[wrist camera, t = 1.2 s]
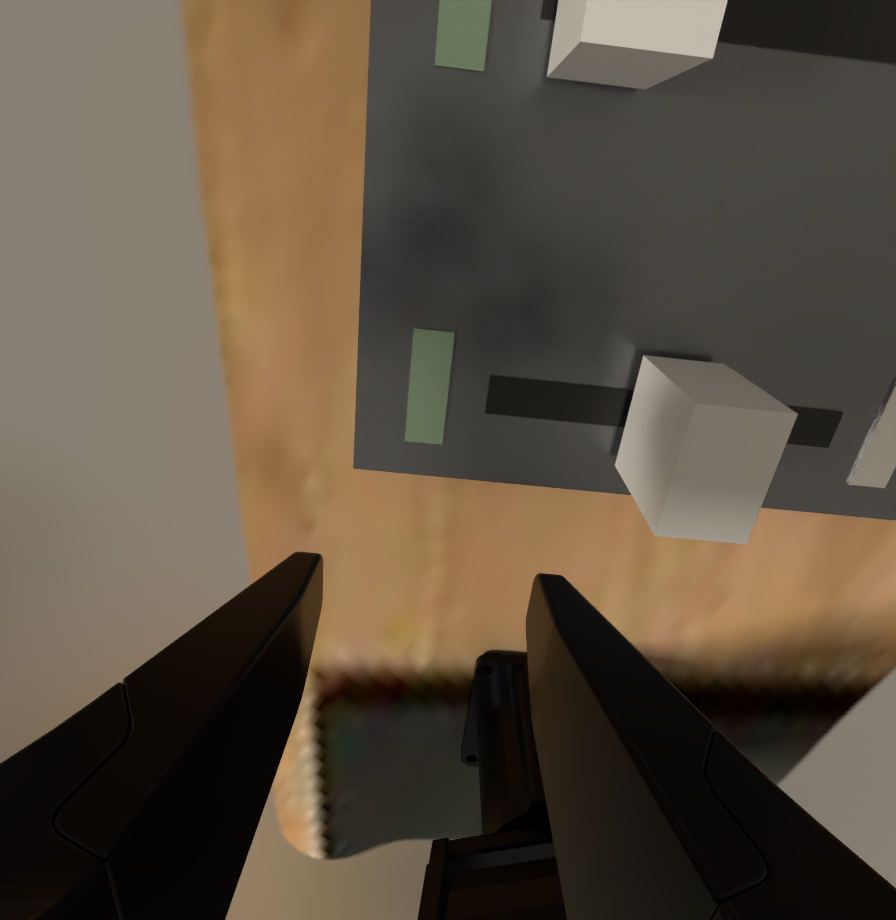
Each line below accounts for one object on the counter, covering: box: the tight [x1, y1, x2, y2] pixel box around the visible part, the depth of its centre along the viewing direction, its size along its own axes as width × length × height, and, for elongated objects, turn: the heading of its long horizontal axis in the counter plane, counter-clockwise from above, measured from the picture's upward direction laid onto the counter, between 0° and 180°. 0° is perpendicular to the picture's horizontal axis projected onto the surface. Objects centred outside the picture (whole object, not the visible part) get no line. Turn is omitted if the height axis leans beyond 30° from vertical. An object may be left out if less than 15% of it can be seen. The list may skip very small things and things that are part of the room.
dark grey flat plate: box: [353, 0, 896, 520], centre depth 16 cm, size 16×19×2 cm
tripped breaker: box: [615, 355, 798, 544], centre depth 16 cm, size 4×2×4 cm, turn 174°
